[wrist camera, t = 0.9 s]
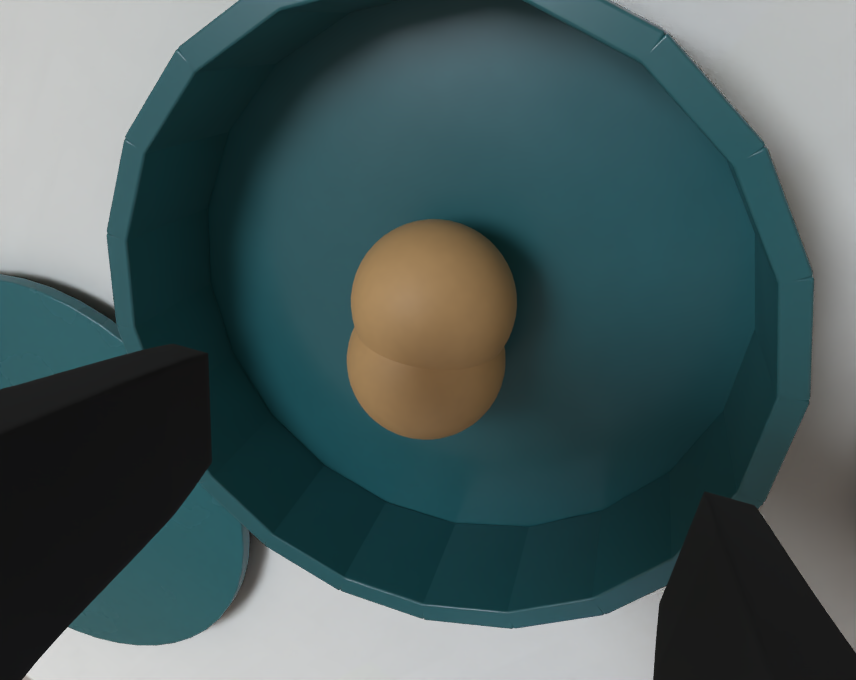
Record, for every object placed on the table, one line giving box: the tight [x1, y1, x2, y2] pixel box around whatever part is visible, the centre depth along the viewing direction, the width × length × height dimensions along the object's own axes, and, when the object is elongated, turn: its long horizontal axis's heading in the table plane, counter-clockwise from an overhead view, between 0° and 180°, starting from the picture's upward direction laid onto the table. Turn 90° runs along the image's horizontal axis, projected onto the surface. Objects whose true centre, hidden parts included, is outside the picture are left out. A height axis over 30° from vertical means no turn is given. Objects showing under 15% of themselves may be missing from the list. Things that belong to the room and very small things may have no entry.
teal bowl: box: [107, 0, 814, 629], centre depth 17 cm, size 16×16×4 cm
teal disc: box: [0, 274, 250, 645], centre depth 25 cm, size 17×17×5 cm
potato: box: [347, 219, 517, 440], centre depth 17 cm, size 6×4×4 cm
